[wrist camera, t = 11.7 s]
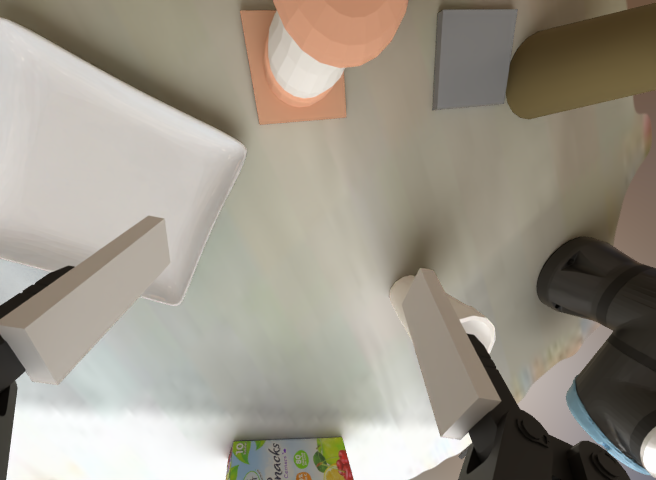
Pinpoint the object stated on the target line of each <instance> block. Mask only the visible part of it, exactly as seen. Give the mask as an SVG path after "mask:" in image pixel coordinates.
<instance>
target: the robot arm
mask: <svg viewBox="0 0 656 480" xmlns="http://www.w3.org/2000/svg"><path fill="white" fill-rule="evenodd" d="M170 263H171V262H170V255H169V247H168V240H167V232H166V225H165V218H159V217H154V216H149V215H148V216H147V217H145V218H144V219H143V220H141V221H140V222H138V223H137V224H135V225H134V226H133V227H131V228H130V229H128V230H127V231H125V232H124V233H123V234H121V235H120V236H118V237H117V238H115V239H114V240H113V241H111V242H110V243H108V244H107V245H106V246H104V247H103V248H101V249H100V250H98V251H97V252H96V253H94V254H93V255H91V256H90V257H88V258H87V259H86V260H84V261H83V262H81V263H80V264H78V265H77V266H76V267H74V266H69V265H68V266H66V267H63V268H61V269H58V270H56V271H54V272H51V273H49V274H48V275H46V276H45V277H43V278H42V279H40V280H39V281H37V282H36V283H35V285H31V286H29V287H28V288H26V289H25V290H23V292H22V293H19V294H17V295H16V296H14V297H13V298H11V299H10V300H8V301H7V302H5V303H4V304H2V305H1V306H0V480H6V476H7V468H8V460H9V452H10V444H11V436H12V428H13V420H14V412H15V404H16V396H17V384H16V381H15V380H16V379H17V378H18V377H19V376H20V375H21V374H23V373H24V372H26V373H27V374H28V376H29V377H30V379H31V380H32V382H39V383H46V384H53V385H58V384H59V383H60V382H61V381H62V380H63V379H64V378H65V377H66V376H67V375H68V374H69V373H70V371H71V370H72V369H73V368H74V367H75V366H76V365H77V364H78V363H79V362H80V361H81V360H82V358H83V357H84V356H85V355H86V354H87V353H88V352H89V351H90V350H91V349H92V348H93V347H94V345H95V344H96V343H97V342H98V341H99V340H100V339H101V338H102V337H103V336H104V335H105V334H106V332H107V331H108V330H109V329H110V328H111V327H112V326H113V325H114V324H115V323H116V322H117V321H118V319H119V318H120V317H121V316H122V315H123V314H124V313H125V312H126V311H127V310H128V309H129V308H130V306H131V305H132V304H133V303H134V302H135V301H136V300H137V299H138V298H139V297H140V296H141V295H142V293H143V292H144V291H145V290H146V289H147V288H148V287H149V286H150V285H151V284H152V283H153V282H154V281H155V279H156V278H157V277H158V276H159V275H160V274H161V273H162V272H163V271H164V270H165V269H166V268H167V266H168V265H169V264H170ZM537 294H538V297H539V299H540V301H541V302H542V303H544V304H545V305H547V306H549V307H551V308H552V309H554V310H556V311H559V312H563V313H566V314H570V315H574V316H578V317H581V318H585V319H589V320H593V321H596V322H598V323H600V324H602V325H604V326H605V327H607V328H609V329H611V330H613V333H612V334H611V335H610V337H609V338H608V339H607V340H606V342H605V343H604V344H603V346H602V347H601V348H600V349H599V350H598V352H597V353H596V354H595V355H594V357H593V358H592V359H591V360H590V362H589V363H588V364H587V365H586V367H585V368H584V369H583V370H582V371H581V373H580V374H579V375H577V376H576V377H575V379H574V380H573V384H572V386H571V387H570V388H569V390H568V391H567V395H566V401H567V405H568V407H569V410H570V411H571V413H572V415H573V416H574V418H575V419H576V420H577V422H578V423H579V424H580V425H581V426H582V428H583V429H584V430H585V431H586V432H587V433H588V434H589V435H590V436H591V437H592V438H593V439H594V440H595V441H596V442H597V443H598V444H601V445H603V446H604V447H605V449H606V450H607V451H606V450H604V449H603V448H601V447H600V446H598V445H596V444H595V443H592V442H589V441H581V442H579V443H578V444H576V445H574V446H572V445H570V444H568V443H566V442H564V441H561V440H559V439H557V438H555V437H553V436H551V435H549V434H548V433H547V431H546V430H545V429H544V428H543V426H542V425H541V424H540V423H539V422H538V421H537V420H536V419H535V418H534V417H533V416H531V415H530V414H528V413H526V412H525V411H523V410H520V408H519V407H518V405H517V403H516V401H515V400H514V398H513V396H512V394H511V392H510V391H509V389H508V387H507V385H506V384H505V382H504V380H503V378H502V376H501V375H500V373H499V371H498V370H497V369H496V366H495V364H494V362H493V360H491V357H490V355H489V353H488V352H487V350H486V348H485V346H484V345H483V344H482V343H481V342H480V341H479V340H478V338H477V337H476V336H475V335H473V334H467V333H466V332H465V330H464V328H463V326H462V324H461V322H460V320H459V318H458V316H457V314H456V312H455V311H454V309H453V307H452V305H451V303H450V301H449V299H448V297H447V295H446V293H445V291H444V289H443V287H442V285H441V284H440V282H439V280H438V278H437V276H436V274H435V272H434V270H430V269H425V268H420V269H419V271H418V273H417V275H416V277H415V279H414V281H413V283H412V285H411V287H410V289H409V291H408V293H407V295H406V297H405V299H404V301H403V303H402V307H403V311H404V314H405V318H406V321H407V324H408V328H409V331H410V335H411V338H412V341H413V345H414V348H415V352H416V355H417V358H418V362H419V365H420V369H421V372H422V375H423V379H424V382H425V386H426V389H427V392H428V396H429V399H430V403H431V406H432V409H433V413H434V416H435V420H436V423H437V426H438V430H439V433H440V437H443V438H451V439H458V440H461V439H462V438H463V437H464V436H465V435H466V434H467V433H468V432H469V435H470V437H471V440H472V444H470V445H469V446H468V447H467V448H466V449H465V450H464V451H463V452H461V454H460V455H459V458H461V459H462V458H464V457H465V456H466V457H465V460H464V463H463V466H462V469H461V472H460V476H459V479H458V480H630V478H629V476H628V475H627V473H626V471H625V470H624V469H623V468H622V466H621V465H620V464H619V463H618V462H617V460H619V461H621V462H622V463H623V464H625V465H626V466H628V467H630V468H631V469H633V470H635V471H638V472H640V473H643V474H646V475H652V476H654V478H656V268H653V267H650V266H646V265H644V264H641V263H639V262H637V261H635V260H634V259H632V258H630V257H629V256H627V255H626V254H624V253H622V252H621V251H619V250H618V249H616V248H614V247H613V246H611V245H610V244H608V243H606V242H604V241H601V240H597V239H594V238H591V237H579V238H576V239H573V240H571V241H569V242H567V243H566V244H564V245H563V246H562V247H560V248H559V249H558V250H557V251H556V252H555V253H554V254H553V255H552V256H551V257H550V258H549V260H548V261H547V262H546V264H545V266H544V267H543V269H542V271H541V273H540V276H539V279H538V283H537ZM609 453H610V454H611V455H612V456H613V457H615V458H616V459H617V460H616V459H615V458H613V457H612V456H611V455H610V454H609Z"/></svg>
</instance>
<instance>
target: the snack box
mask: <svg viewBox="0 0 656 480" xmlns="http://www.w3.org/2000/svg"><path fill="white" fill-rule="evenodd" d="M226 480H354V479H353V476H352V472H351V468H350V464H349V461H348V457H347V453H346V450H345V446H344V442H343V439H342V437H334V438H309V439H284V440H259V441H234V442H233V446H232V449H231V452H230V455H229V459H228V465H227V474H226Z"/></svg>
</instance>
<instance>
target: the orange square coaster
mask: <svg viewBox="0 0 656 480" xmlns="http://www.w3.org/2000/svg"><path fill="white" fill-rule="evenodd" d="M276 11H277V10H255V11H240V14H241V20H242V25H243V31H244V37H245V43H246V49H247V54H248V60H249V66H250V72H251V77H252V83H253V89H254V95H255V101H256V106H257V112H258V118H259V124H260V125H264V124H276V123H288V122H300V121H311V120H323V119H335V118H345V117H346V102H345V85H344V71H343V73H342V75H341V77H340V79H339V80H338V81H337V82H336V83H335V84H334V86H333V88H332V89H331V91H330V92H329V93H328V94H327V95H326V96H325V97H324V98H322V99H321V100H320V101H318V102H316V103H315V104H313V105H311V106H308V107H300V108H299V107H294V106H290V105H288V104H286V103H284V102H283V101H281V100H279V98H278V97H277V96H276V95H275V94H274V93H273V92H272V91H271V89H270V87H269V85H268V83H267V81H266V78H265V73H264V68H263V61H264V45H265V41H266V38H267V36H268V33H269V27H270V25H271V22H272V20H273V17H274V15H275V13H276Z"/></svg>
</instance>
